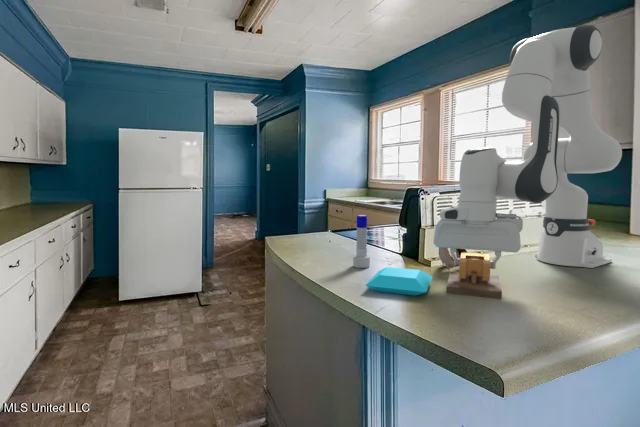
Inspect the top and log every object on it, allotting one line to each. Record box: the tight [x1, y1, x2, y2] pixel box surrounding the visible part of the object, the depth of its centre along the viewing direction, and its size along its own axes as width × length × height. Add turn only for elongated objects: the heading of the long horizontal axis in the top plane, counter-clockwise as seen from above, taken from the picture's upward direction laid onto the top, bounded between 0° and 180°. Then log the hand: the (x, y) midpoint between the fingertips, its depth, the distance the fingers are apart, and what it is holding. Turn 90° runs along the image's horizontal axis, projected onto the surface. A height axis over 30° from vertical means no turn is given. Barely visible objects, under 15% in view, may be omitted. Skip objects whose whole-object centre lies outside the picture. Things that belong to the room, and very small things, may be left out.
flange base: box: [445, 259, 503, 299], centre depth 97 cm, size 15×12×6 cm
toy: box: [438, 247, 469, 271], centre depth 115 cm, size 9×8×15 cm
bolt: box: [352, 214, 371, 269], centre depth 117 cm, size 16×5×5 cm
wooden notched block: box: [458, 252, 491, 281], centre depth 98 cm, size 12×7×4 cm, turn 158°
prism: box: [364, 266, 433, 296], centre depth 96 cm, size 14×14×5 cm
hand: (474, 266), depth 99 cm, fingers closed on wooden notched block, 7 cm apart
